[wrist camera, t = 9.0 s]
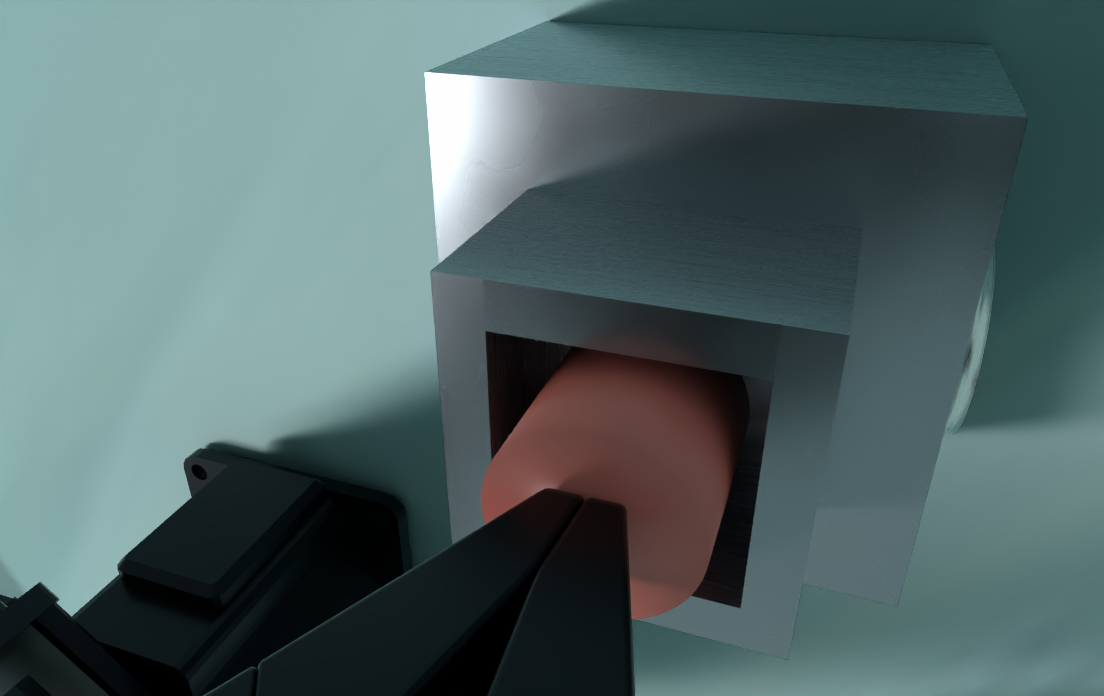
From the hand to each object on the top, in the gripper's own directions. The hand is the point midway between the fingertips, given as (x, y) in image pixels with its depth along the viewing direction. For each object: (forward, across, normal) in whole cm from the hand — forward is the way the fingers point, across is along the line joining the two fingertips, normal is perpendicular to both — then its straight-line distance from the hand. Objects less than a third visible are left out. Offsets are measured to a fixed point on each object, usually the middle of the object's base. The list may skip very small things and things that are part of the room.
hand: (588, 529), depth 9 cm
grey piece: (+8, 0, 0) cm, 8 cm away
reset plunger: (+2, 0, 0) cm, 2 cm away
